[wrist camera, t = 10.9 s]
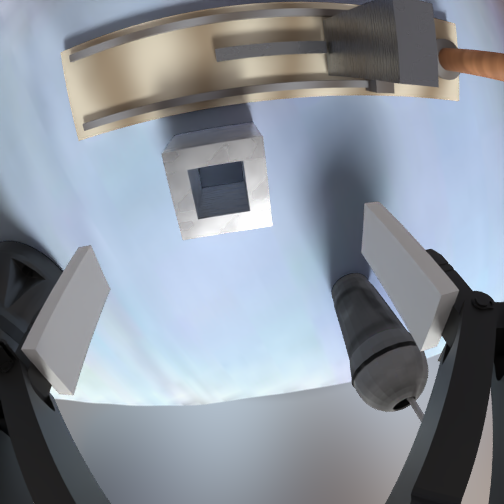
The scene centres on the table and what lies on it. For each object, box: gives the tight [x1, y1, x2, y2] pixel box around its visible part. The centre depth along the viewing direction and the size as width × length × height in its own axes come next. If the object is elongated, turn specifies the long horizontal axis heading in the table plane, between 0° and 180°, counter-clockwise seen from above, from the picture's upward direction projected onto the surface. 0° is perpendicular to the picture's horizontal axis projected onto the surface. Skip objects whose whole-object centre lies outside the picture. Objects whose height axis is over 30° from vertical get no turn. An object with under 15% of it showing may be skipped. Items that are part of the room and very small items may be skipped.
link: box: [162, 122, 273, 240], centre depth 23 cm, size 6×6×6 cm
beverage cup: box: [332, 273, 428, 422], centre depth 26 cm, size 7×7×20 cm
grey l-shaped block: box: [215, 0, 439, 88], centre depth 15 cm, size 11×5×10 cm, turn 97°
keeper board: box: [61, 2, 504, 141], centre depth 16 cm, size 34×8×9 cm, turn 97°
